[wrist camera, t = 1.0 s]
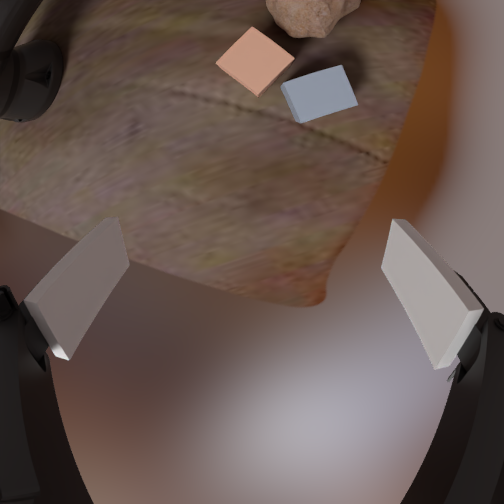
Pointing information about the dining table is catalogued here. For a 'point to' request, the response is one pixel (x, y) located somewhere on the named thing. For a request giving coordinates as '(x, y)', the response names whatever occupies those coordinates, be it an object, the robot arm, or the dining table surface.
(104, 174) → the dining table surface
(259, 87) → the terracotta block
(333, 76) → the slate block
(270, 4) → the stone
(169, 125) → the dining table surface
